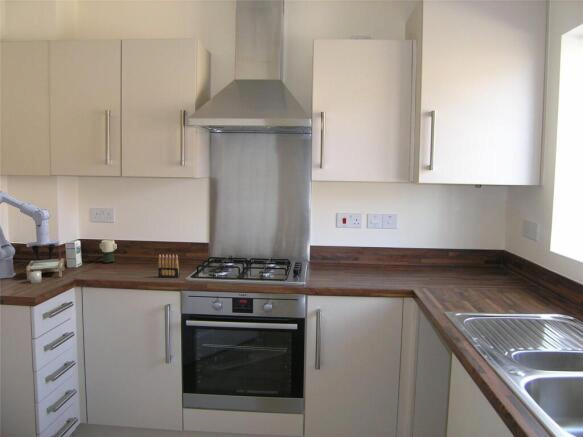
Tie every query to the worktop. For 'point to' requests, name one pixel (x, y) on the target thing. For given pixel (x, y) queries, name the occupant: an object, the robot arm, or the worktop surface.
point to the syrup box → (73, 253)
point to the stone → (35, 277)
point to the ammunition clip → (168, 267)
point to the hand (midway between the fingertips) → (44, 259)
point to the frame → (59, 268)
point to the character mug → (108, 250)
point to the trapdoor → (45, 264)
